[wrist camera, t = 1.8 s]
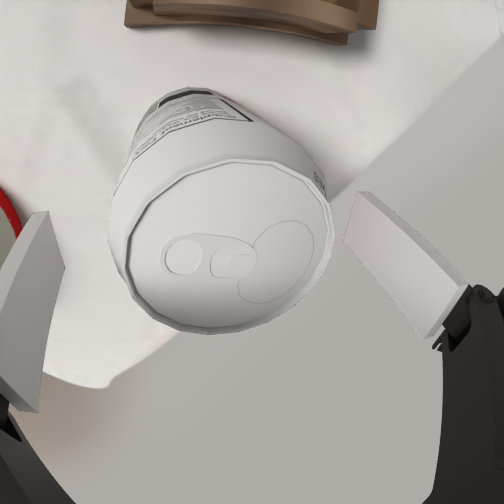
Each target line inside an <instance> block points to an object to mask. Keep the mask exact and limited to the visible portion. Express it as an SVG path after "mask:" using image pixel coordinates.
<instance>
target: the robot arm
mask: <svg viewBox="0 0 504 504" xmlns="http://www.w3.org/2000/svg"><path fill="white" fill-rule="evenodd" d="M343 242H344V243H345V244H346V245H347V246H348V247H349V249H350V250H351V251H352V252H353V253H354V254H355V255H356V257H357V258H358V259H359V260H360V261H361V263H362V264H363V265H364V266H365V267H366V269H367V270H368V271H369V272H370V273H371V275H372V276H373V277H374V278H375V280H376V281H377V282H378V283H379V284H380V286H381V287H382V288H383V289H384V291H385V292H386V293H387V294H388V296H389V297H390V298H391V300H392V301H393V302H394V303H395V305H396V306H397V307H398V308H399V310H400V311H401V312H402V314H403V315H404V316H405V318H406V319H407V320H408V322H409V323H410V324H411V325H412V327H413V328H414V330H415V331H416V332H417V334H418V335H419V336H420V338H421V339H422V340H425V339H427V338H429V337H431V336H433V335H434V334H435V333H436V332H437V330H438V329H439V328H440V326H441V325H443V326H444V327H445V330H444V331H443V332H442V334H441V335H440V336H439V338H438V339H437V340H436V341H435V343H434V344H433V346H432V349H435V348H436V347H437V345H438V344H439V343H442V344H441V345H440V346H439V348H438V349H437V351H441V352H442V357H443V406H442V424H441V436H440V446H439V455H438V461H437V468H436V474H435V480H434V485H433V490H432V492H431V494H430V496H429V497H428V498H427V499H426V500H425V501H424V502H423V504H504V288H503V289H502V290H501V292H500V294H499V295H498V296H494V294H493V293H492V292H491V291H490V290H488V289H487V288H485V287H484V286H482V285H475V286H474V287H473V288H472V287H471V286H470V285H469V282H468V281H467V280H466V279H465V278H464V277H463V276H462V275H461V274H460V273H459V272H458V271H457V270H456V269H455V268H454V267H453V266H452V265H451V264H450V263H449V262H448V261H447V260H446V259H445V258H444V257H443V256H442V255H441V254H440V253H439V252H438V251H437V250H436V249H435V248H434V247H433V246H432V245H431V244H430V243H429V242H427V241H426V240H425V239H424V238H423V237H422V236H421V235H420V234H418V232H417V231H415V230H414V229H413V228H412V227H411V226H410V225H409V224H407V223H406V222H405V221H404V220H403V219H401V218H400V217H399V216H398V215H397V214H396V213H395V212H394V211H392V210H391V209H390V208H389V207H388V206H386V205H385V204H384V203H383V202H381V201H380V200H379V199H378V198H376V197H375V196H374V195H373V194H371V193H370V192H357V194H356V197H355V201H354V204H353V208H352V211H351V215H350V218H349V221H348V225H347V228H346V231H345V235H344V238H343ZM64 270H65V265H64V262H63V259H62V256H61V253H60V250H59V247H58V244H57V240H56V237H55V234H54V230H53V226H52V223H51V219H50V215H49V211H44V212H38V213H32V215H31V217H30V218H29V220H28V221H27V223H26V225H25V226H24V228H23V230H22V231H21V233H20V235H19V236H18V238H17V240H16V242H15V243H14V245H13V247H12V249H11V251H10V252H9V254H8V256H7V258H6V260H5V262H4V264H3V266H2V268H1V270H0V504H76V503H75V502H74V501H73V500H72V499H71V498H70V497H69V496H68V494H67V493H66V492H65V491H64V490H63V489H62V487H61V486H60V485H59V484H58V482H57V481H56V480H55V479H54V477H53V476H52V475H51V473H50V472H49V471H48V470H47V468H46V467H45V465H44V464H43V463H42V461H41V460H40V458H39V457H38V456H37V454H36V453H35V451H34V450H33V448H32V447H31V445H30V444H29V442H28V441H27V439H26V438H25V436H24V434H23V432H22V431H21V430H20V428H19V426H18V424H17V422H16V421H15V419H14V417H13V416H12V415H11V413H10V412H9V411H8V408H9V402H10V403H11V404H12V405H13V406H14V407H15V408H16V409H17V410H19V411H24V412H35V413H38V410H39V397H40V386H41V378H42V370H43V363H44V356H45V350H46V345H47V339H48V334H49V329H50V324H51V320H52V315H53V311H54V307H55V303H56V299H57V295H58V291H59V287H60V284H61V280H62V277H63V273H64Z"/></svg>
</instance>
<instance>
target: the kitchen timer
mask: <svg viewBox="0 0 504 504" xmlns="http://www.w3.org/2000/svg"><path fill="white" fill-rule="evenodd" d="M21 231H22V226H21V222H20V219H19V217H18V215H17V213H16V211H15V209H14V207H13V205H12V203H11V201H10V200H9V199H8V198H7V196H6V195H5V194H4V192H3V191H2V190H1V188H0V270H1V268H2V266H3V264H4V262H5V260H6V258H7V256H8V254H9V252H10V251H11V249H12V247H13V245H14V243H15V242H16V240H17V238H18V236H19V235H20V233H21Z"/></svg>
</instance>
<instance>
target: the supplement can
mask: <svg viewBox="0 0 504 504" xmlns="http://www.w3.org/2000/svg"><path fill="white" fill-rule="evenodd" d="M334 238H335V229H334V223H333V219H332V214H331V209H330V202H329V197H328V193H327V189H326V184H325V180H324V176H323V173H322V172H321V171H320V169H319V168H318V167H317V165H316V164H315V163H314V161H313V160H312V159H311V157H310V156H309V155H308V154H307V152H306V151H305V150H304V148H303V147H302V146H301V145H300V144H298V143H297V142H295V141H294V140H293V139H291V138H290V137H288V136H287V135H285V134H284V133H282V132H281V131H279V130H278V129H277V128H275V127H274V126H272V125H271V124H269V123H268V122H266V121H264V120H263V119H261V118H260V117H258V116H257V115H255V114H254V113H252V112H250V111H249V110H247V109H246V108H244V107H242V106H241V105H239V104H237V103H236V102H234V101H233V100H231V99H229V98H227V97H226V96H224V95H222V94H219V93H217V92H215V91H213V90H210V89H208V88H194V87H186V88H183V89H179V90H176V91H173V92H170V93H167V94H166V95H164V96H163V97H162V98H160V99H159V100H157V101H156V102H155V103H154V104H152V105H151V106H150V108H149V109H148V111H147V112H146V114H145V115H144V117H143V118H142V120H141V121H140V123H139V126H138V128H137V130H136V133H135V135H134V138H133V141H132V143H131V146H130V149H129V151H128V154H127V157H126V159H125V162H124V165H123V168H122V171H121V174H120V177H119V180H118V183H117V186H116V189H115V193H114V196H113V199H112V203H111V208H110V219H109V232H108V244H109V247H110V250H111V253H112V255H113V258H114V261H115V264H116V266H117V269H118V272H119V274H120V275H121V277H122V278H123V279H124V281H125V282H126V283H127V286H128V288H129V291H130V293H131V296H132V298H133V299H134V300H135V301H136V302H137V303H138V304H139V305H140V306H141V307H142V308H143V309H144V310H145V311H146V312H147V313H148V314H149V315H150V316H151V317H152V318H153V319H155V320H157V321H159V322H161V323H163V324H165V325H168V326H170V327H172V328H174V329H177V330H179V331H184V332H191V333H198V334H206V335H212V334H213V335H214V334H224V333H232V332H240V331H243V330H246V329H249V328H252V327H255V326H258V325H261V324H264V323H267V322H269V321H270V320H272V319H274V318H276V317H277V316H279V315H281V314H282V313H284V312H286V311H287V310H289V309H291V308H292V307H294V306H295V305H296V304H297V303H298V302H299V301H300V300H301V299H302V298H303V297H304V296H305V295H306V294H307V293H308V292H309V291H310V290H311V289H312V288H313V287H314V286H315V285H316V283H317V282H318V280H319V278H320V277H321V275H322V273H323V272H324V270H325V268H326V266H327V265H328V263H329V261H330V257H331V253H332V248H333V242H334Z"/></svg>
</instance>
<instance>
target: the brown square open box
mask: <svg viewBox="0 0 504 504" xmlns="http://www.w3.org/2000/svg"><path fill="white" fill-rule="evenodd" d="M378 5H379V0H127V3H126V12H125V21H124V25H125V26H126V27H137V26H149V25H170V24H201V25H222V26H235V27H245V28H254V29H262V30H269V31H275V32H281V33H287V34H292V35H297V36H302V37H307V38H311V39H315V40H319V41H323V42H327V43H331V44H335V45H347V39H348V33H356V30H376V23H377V14H378Z"/></svg>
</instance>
